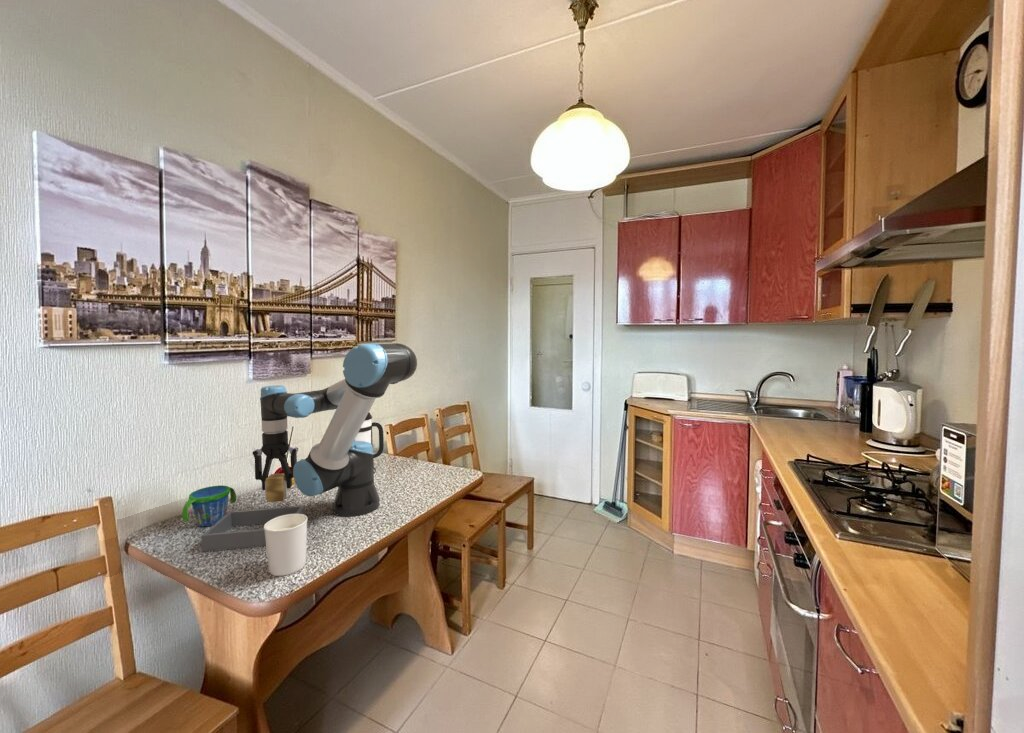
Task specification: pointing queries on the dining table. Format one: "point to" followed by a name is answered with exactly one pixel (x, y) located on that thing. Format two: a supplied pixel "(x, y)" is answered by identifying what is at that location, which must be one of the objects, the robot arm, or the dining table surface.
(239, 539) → the charcoal bin
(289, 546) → the candle holder
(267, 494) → the ochre block
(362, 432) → the coffee press
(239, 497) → the dining table surface
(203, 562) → the dining table surface
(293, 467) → the robot arm
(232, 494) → the snack cup
